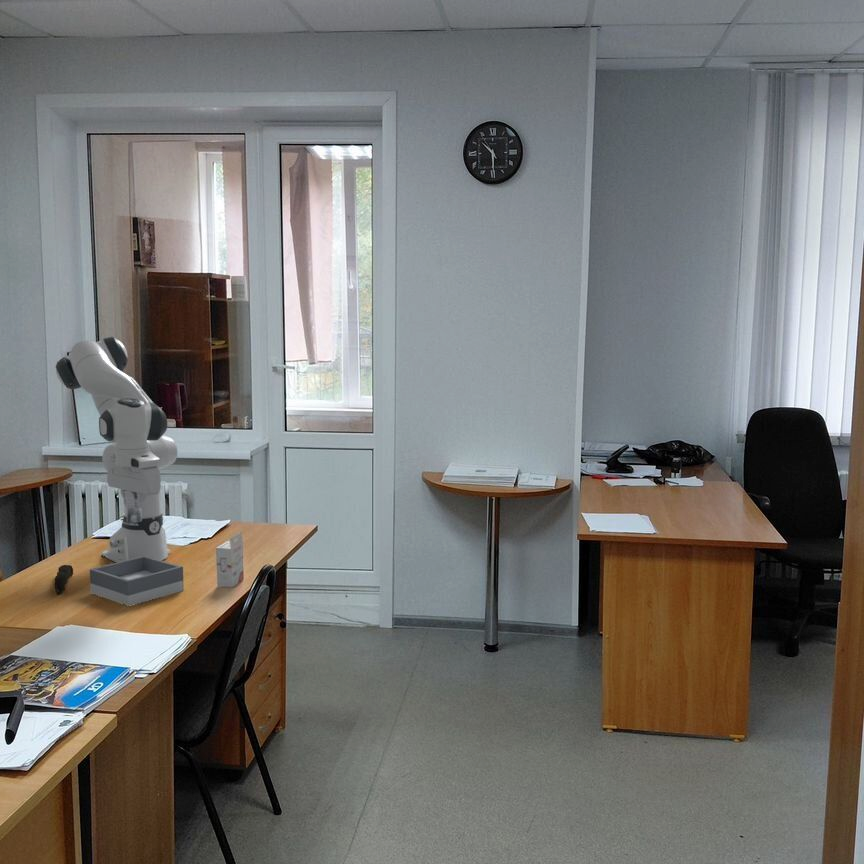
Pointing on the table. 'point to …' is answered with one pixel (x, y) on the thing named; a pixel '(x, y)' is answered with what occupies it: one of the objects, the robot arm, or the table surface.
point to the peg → (132, 508)
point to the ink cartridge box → (230, 562)
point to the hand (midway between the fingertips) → (133, 506)
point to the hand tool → (62, 578)
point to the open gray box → (136, 580)
